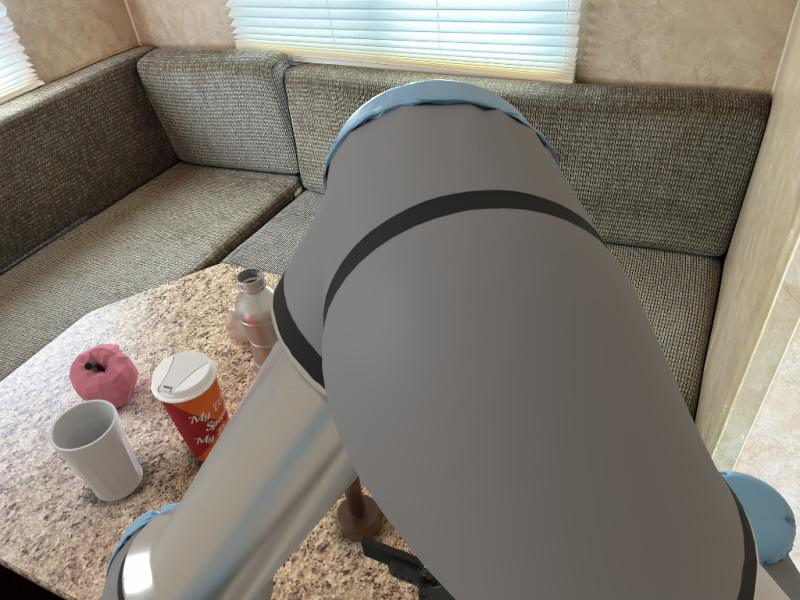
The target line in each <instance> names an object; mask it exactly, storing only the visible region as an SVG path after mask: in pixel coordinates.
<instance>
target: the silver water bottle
mask: <svg viewBox="0 0 800 600" xmlns="http://www.w3.org/2000/svg"><path fill="white" fill-rule="evenodd" d="M235 281H236V284H237V286H236V287H237V290H238V292H239V293H238V294H237V297H236V299H235V301H234V306H235V313H236V315H237V317H238V319H239V321H240V323H241V325H242V326H243V328H244V330H245V332H246V335H247V337H248V339H249V342H248V343H249V344H250V348H251V352H252V358H253V369H254V373H255V376H256V375H257V373H258V372H259V370H260V368H261V367H262V365H263V363H264V362H265V360H266V358H267V357H268V355H269V353H270V352H271V350H272V348H273V347H274V345H275V343H276V342H277V340H278V338H277V336H276V333H275V330H274V326H273V323H272V317H271V300H272V296H273V292H274V290H273V289H272V288H271V287H269V286H267V281H266V278H265V275H264V272H263V271H262V270H261V269H260V268H256V267H250V268H245V269H242V270H241V271H239V272H238V273H237V274H236V277H235Z"/></svg>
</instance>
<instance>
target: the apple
mask: <svg viewBox="0 0 800 600" xmlns="http://www.w3.org/2000/svg"><path fill="white" fill-rule="evenodd" d="M139 373H140V372H139V370H138V368H137V366H136V365H135V364H134V362H133V361H132V359H131V358H129V357H128V356H127V354H126V353H123V350H121V348H120V345H118V344H113V343H99V344H97V345H95V346H93V347H91V348H89V349H86V350H85V351H83V352H80V353H79V354H78V355H77V356H76V358H75V359H74V360H73V362H72V363H71V365H70V369H69V375H68V376H69V380H70V383H71V385H72V387H73V390H74V391H75V393H76V394H77V395H78V397H80V398H81V399H82V400H83V401H84V402H85V401H89V400H105V401H108V402H110V403H111V404H113V405H114V407H115V408H116V409H118V408H121V407H123V406H124V405H127V404H128V403H129V402H130V401H131V399H132V398H133V396H134V394H135V390H136V384H137V382H138V377H139Z"/></svg>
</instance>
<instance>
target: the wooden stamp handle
mask: <svg viewBox="0 0 800 600" xmlns="http://www.w3.org/2000/svg"><path fill="white" fill-rule="evenodd" d="M361 483H362V482H361V479H360V478H359V476H358V477H357V478H356V480H355V481H354V482H353V483H352V484H351V485H350V487H349V488H348V489H347V490H346V491H345V492H344V497H345V499H344V500H343V501H342V502H341V503H340V504H339V507H338V509H337V513H336V514H337V515H336V517H337V520H338V526H339V529H340V532H341V533H342V535H343V536H344V537H345V538H346V539H347V540H349V541H351V542H357V543H361V541H362V539H363V537H364V536H366V537H369V538H371V539H372V538H373V537H374V536H375V535H377V533H378V531H379V529H380V526H381V515H380V511H379V509H380V508H379V506H378V505H377V503H376V502H375V500H374V499H373V497H372V496H370V495H367V494H364V493H363V489H362V485H361Z"/></svg>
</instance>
